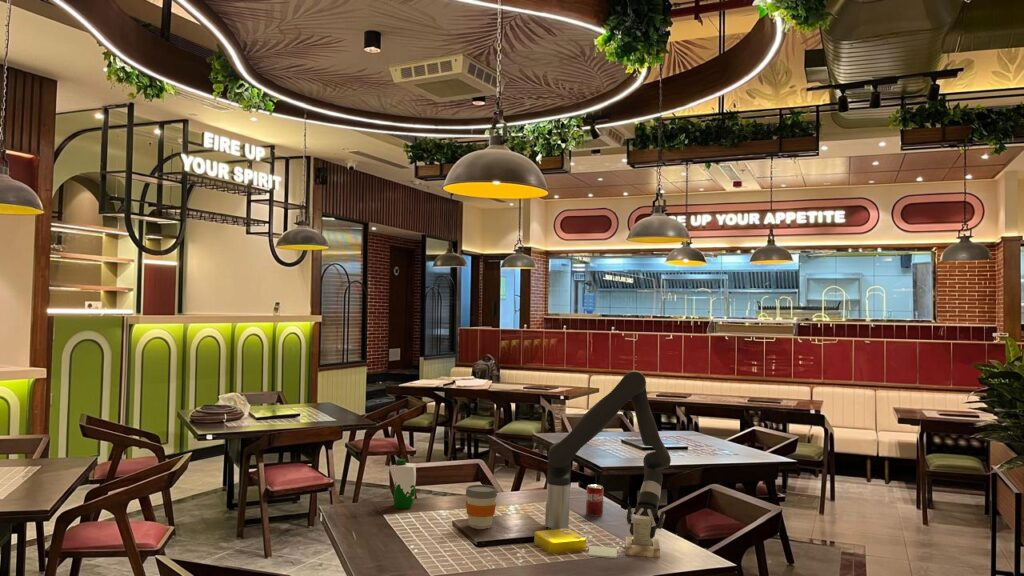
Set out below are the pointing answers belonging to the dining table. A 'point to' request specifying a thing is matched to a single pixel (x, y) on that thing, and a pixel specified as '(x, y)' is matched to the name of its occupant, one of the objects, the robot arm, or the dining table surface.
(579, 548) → the element tile
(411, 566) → the dining table surface
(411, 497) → the milk carton
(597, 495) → the soda can
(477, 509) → the reusable coffee cup
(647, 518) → the skincare box
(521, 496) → the dining table surface
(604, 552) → the coaster
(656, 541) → the pocket block
